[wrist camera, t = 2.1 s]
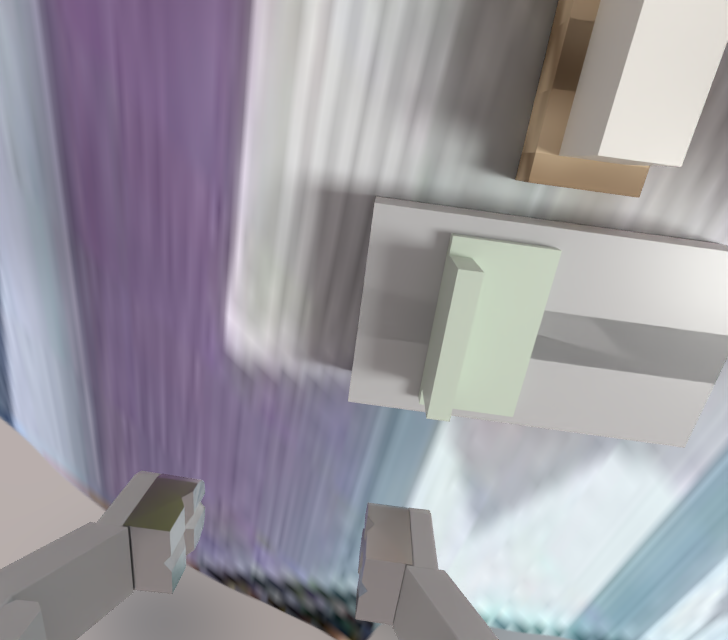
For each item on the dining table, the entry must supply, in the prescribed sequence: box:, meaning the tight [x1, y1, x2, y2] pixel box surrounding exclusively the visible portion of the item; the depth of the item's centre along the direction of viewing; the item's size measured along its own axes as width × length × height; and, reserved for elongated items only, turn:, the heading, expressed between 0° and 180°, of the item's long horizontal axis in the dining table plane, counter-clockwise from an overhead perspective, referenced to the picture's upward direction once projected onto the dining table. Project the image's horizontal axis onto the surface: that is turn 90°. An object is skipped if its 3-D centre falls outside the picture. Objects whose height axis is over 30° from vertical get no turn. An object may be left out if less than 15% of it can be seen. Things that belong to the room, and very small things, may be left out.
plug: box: [559, 0, 728, 167], centre depth 20 cm, size 9×4×7 cm, turn 173°
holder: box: [515, 0, 650, 197], centre depth 22 cm, size 12×6×2 cm, turn 173°
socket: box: [348, 196, 728, 448], centre depth 27 cm, size 12×21×4 cm, turn 83°
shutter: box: [418, 233, 562, 422], centre depth 23 cm, size 10×6×4 cm, turn 173°
